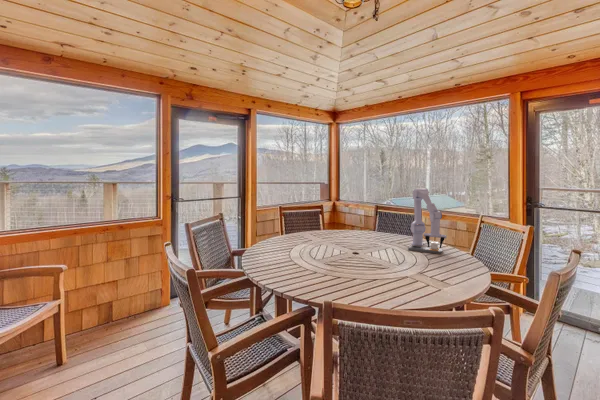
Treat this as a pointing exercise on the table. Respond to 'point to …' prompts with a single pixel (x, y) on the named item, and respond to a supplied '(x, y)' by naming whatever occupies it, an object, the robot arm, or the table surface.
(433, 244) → the drilled metal block
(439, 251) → the rail
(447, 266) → the table surface
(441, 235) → the robot arm
